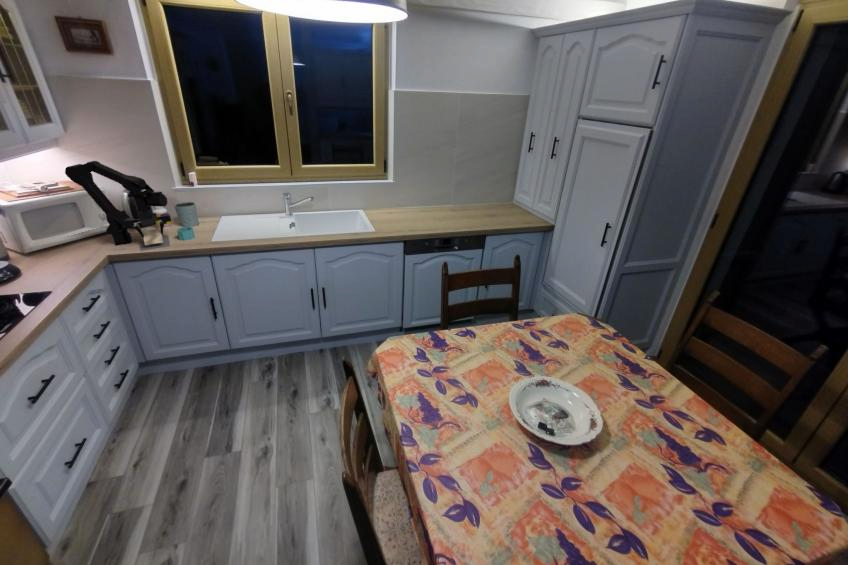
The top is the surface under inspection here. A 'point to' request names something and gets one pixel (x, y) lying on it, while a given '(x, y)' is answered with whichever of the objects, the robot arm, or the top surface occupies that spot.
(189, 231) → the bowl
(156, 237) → the cover board
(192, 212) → the grey-green cup
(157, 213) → the supplement bottle
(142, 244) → the mat
